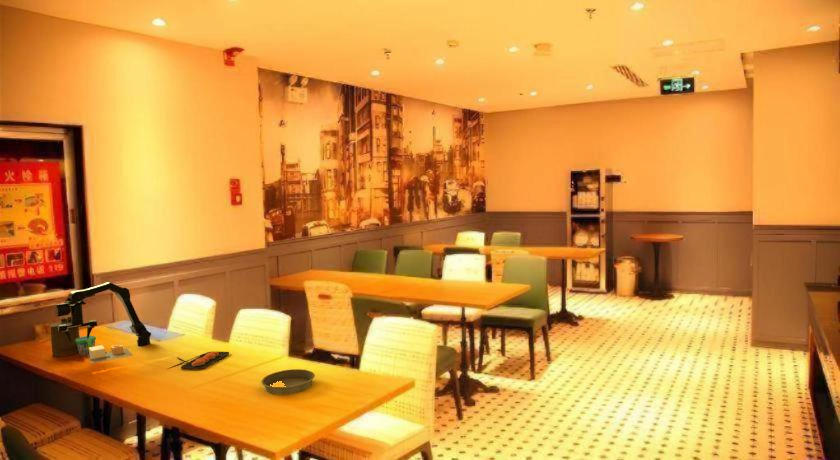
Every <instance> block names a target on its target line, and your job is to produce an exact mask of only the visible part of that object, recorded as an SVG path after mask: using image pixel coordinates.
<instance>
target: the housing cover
mask: <svg viewBox="0 0 840 460" xmlns="http://www.w3.org/2000/svg"><path fill="white" fill-rule="evenodd" d="M105 352H106V348H105V347H104V345H103V344H100V345H95V346H94V347H89V354H88V355H89V356H90V358H91V359H95V358H100V357H105V356H106V355H105Z"/></svg>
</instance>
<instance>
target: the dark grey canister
mask: <svg viewBox="0 0 840 460" xmlns="http://www.w3.org/2000/svg"><path fill="white" fill-rule="evenodd" d="M67 317H68V316H67ZM67 317H66V316H61V317H60V321H58V322H54V323H52V324H50V325H49V329H50V343H51V353H52V354H51V355H52V356H53V357H67V356H71V355H76V354H79V350H78V347H77V343H76V342H75V339H77V338H80V337H81V336H80V335H81V334H80V327H75V328H69V329H68V331H69V335H70V340H71V342H69V340H68V337H67V335H66V334H65V332H64V333H63V332H62V331H59V330H58V326H59V325H62V324H66V325H72V324H71V323H67ZM74 326H75V325H74ZM75 353H76V354H75Z"/></svg>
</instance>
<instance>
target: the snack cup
mask: <svg viewBox="0 0 840 460" xmlns="http://www.w3.org/2000/svg"><path fill="white" fill-rule="evenodd" d="M96 339H97V338H96V336H95V335H89V338H88V339H87V335H84V336H80V338H77V339H75V342H76V343H77V347H78V350H79V352H78V354H79V356H80V357H81V356H82V357H83V356H85V355H86V356H87V355H89V347H94V346H96Z"/></svg>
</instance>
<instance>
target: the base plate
mask: <svg viewBox="0 0 840 460" xmlns="http://www.w3.org/2000/svg"><path fill="white" fill-rule="evenodd" d="M123 351H124V353H121V354H115V355H113V354H112V351H105V355H106V356H105V357H100V358H95V359H91V358H90V356H89V354H86V356H87V358H88V360H89V361H90V363H91V364H94V363H95V364H96V363H100V362H105V361H111V360H116V359H120V358H121V359H122V358H126V357H131V356H133V354H132V352H131V351H130V350H129V349H128V348H123Z"/></svg>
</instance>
